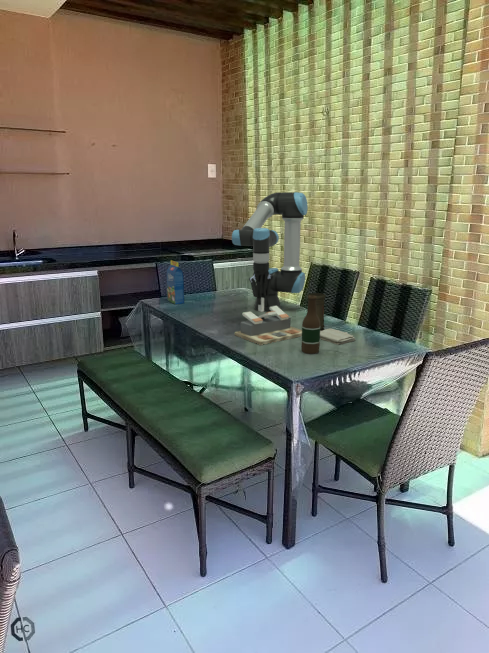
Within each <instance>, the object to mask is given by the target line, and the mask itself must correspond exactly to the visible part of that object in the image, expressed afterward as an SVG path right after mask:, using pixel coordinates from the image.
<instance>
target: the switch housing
mask: <svg viewBox="0 0 489 653" xmlns="http://www.w3.org/2000/svg"><path fill="white" fill-rule="evenodd" d="M261 319H262V320H263V322H262V323H259V324H254V323H252V322H251V321H250V320H245V321H240V323H239V324H240V331H241V333H243V334H246V335H249V336H254V335H259V334H264V333H269V332H273V331H278V330H283V329H288V328H290V326H291V324H292V323H291V317H289V319H286V320H280V319H279V318H278V317H277V316H276V315H271V316H269V318H268V319H264V318H261Z"/></svg>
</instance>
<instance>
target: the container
mask: <svg viewBox="0 0 489 653" xmlns="http://www.w3.org/2000/svg"><path fill="white" fill-rule="evenodd" d="M310 295H314V296H316V297H317V299H316V313H317V316H318V317H319V320H320V331H323V330H325V329H326V328H325V300H326V296H327V295H326V294H324V293H321V292H310V293H308V294H307V297H308V296H310Z"/></svg>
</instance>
